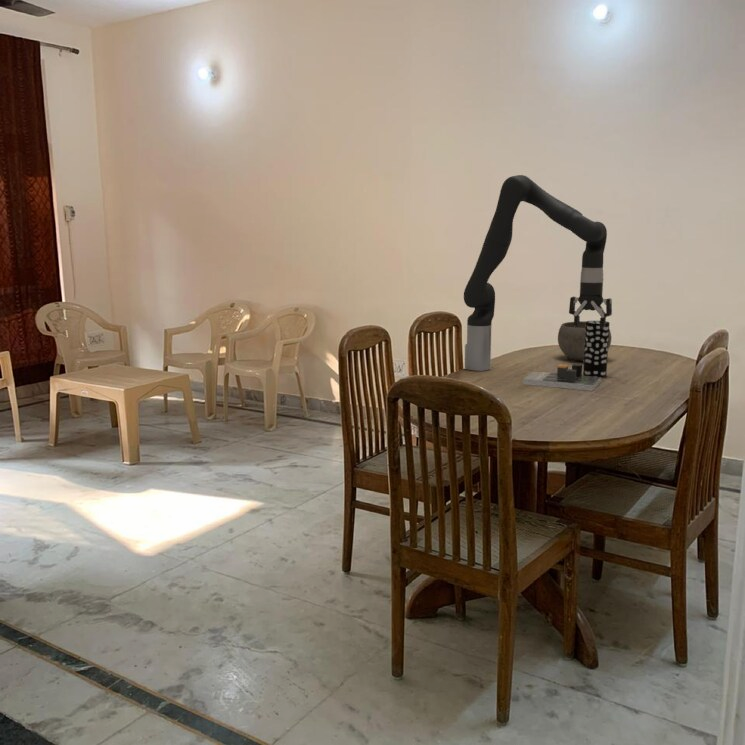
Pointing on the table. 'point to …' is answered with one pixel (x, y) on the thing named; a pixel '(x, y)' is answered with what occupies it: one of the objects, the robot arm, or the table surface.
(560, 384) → the panel
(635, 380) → the table surface
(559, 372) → the block
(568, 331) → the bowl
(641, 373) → the table surface
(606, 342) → the spotted tube
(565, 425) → the table surface
